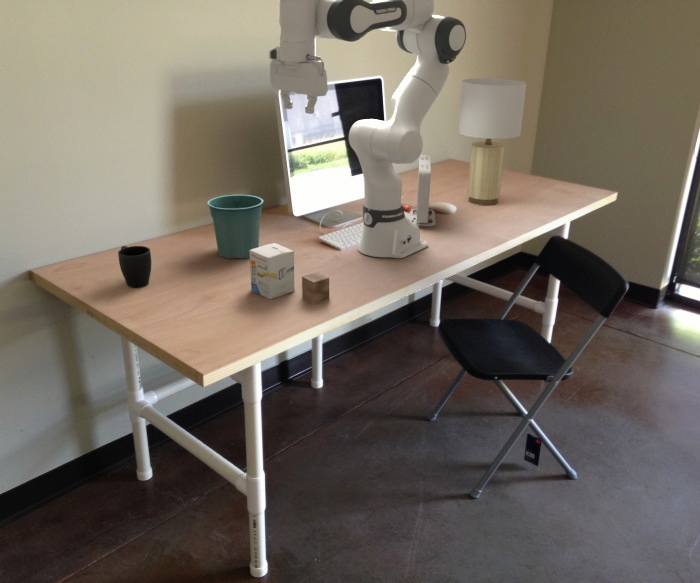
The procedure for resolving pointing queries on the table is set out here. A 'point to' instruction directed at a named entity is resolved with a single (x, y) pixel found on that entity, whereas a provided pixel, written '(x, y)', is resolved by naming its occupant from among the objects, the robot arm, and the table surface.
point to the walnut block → (315, 287)
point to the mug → (135, 265)
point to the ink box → (272, 270)
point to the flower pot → (236, 224)
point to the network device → (423, 193)
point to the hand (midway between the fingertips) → (298, 111)
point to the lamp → (489, 131)
